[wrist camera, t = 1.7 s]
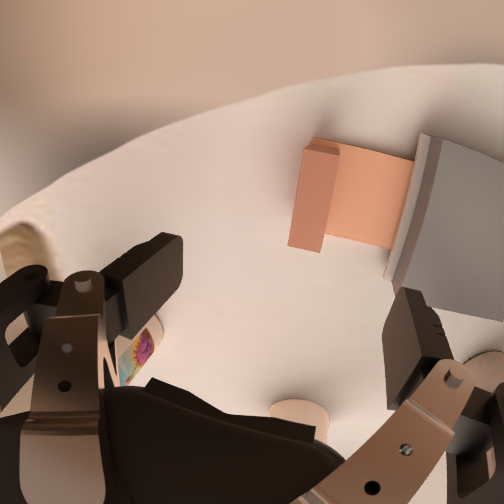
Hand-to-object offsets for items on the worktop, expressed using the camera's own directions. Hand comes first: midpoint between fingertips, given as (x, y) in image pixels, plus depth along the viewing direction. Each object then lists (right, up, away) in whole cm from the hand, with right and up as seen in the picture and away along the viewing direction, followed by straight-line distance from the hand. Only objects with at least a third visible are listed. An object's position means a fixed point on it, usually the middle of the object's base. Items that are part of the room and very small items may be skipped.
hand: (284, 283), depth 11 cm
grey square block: (+18, +4, +12) cm, 22 cm away
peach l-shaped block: (+13, +5, +13) cm, 19 cm away
